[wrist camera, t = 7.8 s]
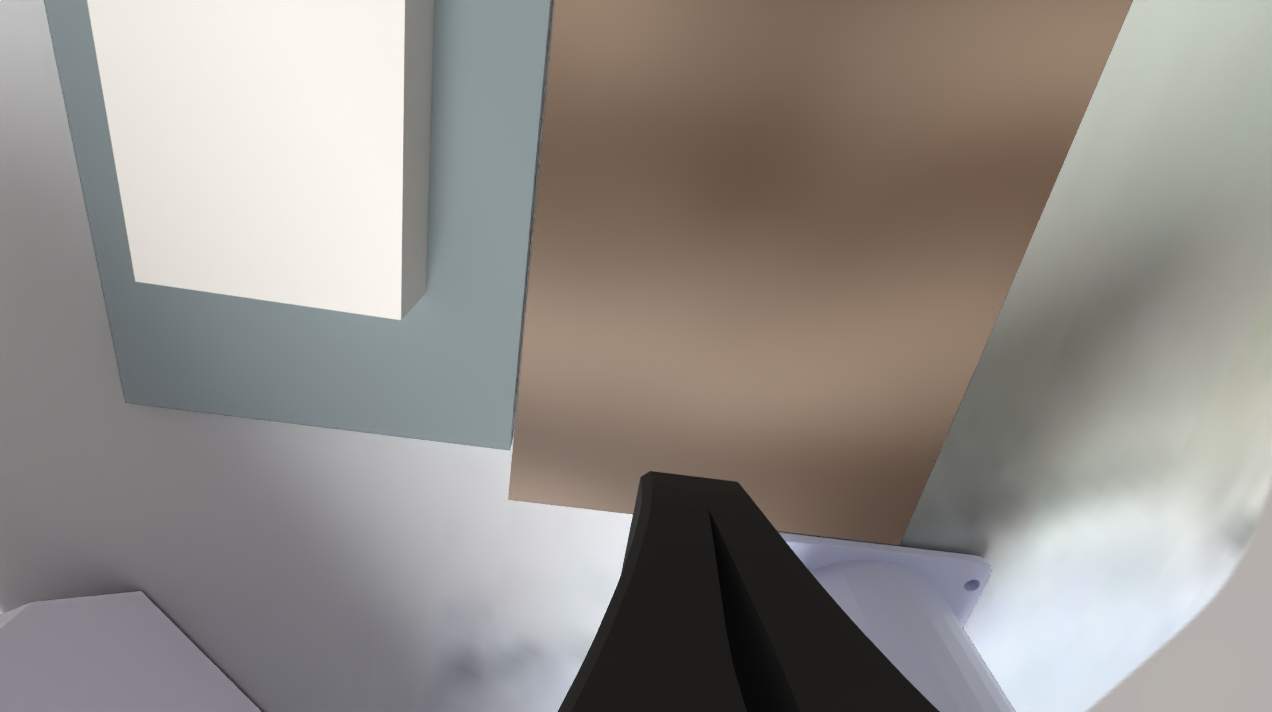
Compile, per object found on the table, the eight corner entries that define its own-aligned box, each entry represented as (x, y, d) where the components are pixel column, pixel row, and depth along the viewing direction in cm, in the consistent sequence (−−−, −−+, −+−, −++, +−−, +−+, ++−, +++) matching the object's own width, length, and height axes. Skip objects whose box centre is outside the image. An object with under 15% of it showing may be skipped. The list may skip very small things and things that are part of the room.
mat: (511, 443, 19) (509, 450, 18) (135, 396, 18) (125, 402, 17) (585, -357, 12) (583, -371, 11) (-40, -505, 11) (-63, -526, 10)
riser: (846, 457, 19) (899, 545, 16) (531, 417, 18) (508, 499, 15) (1072, -174, 13) (1251, -278, 9) (604, -281, 12) (595, -443, 8)
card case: (135, 281, 14) (192, 258, 16) (401, 319, 14) (425, 293, 16) (49, -219, 10) (135, -174, 12) (406, -144, 11) (437, -111, 13)
